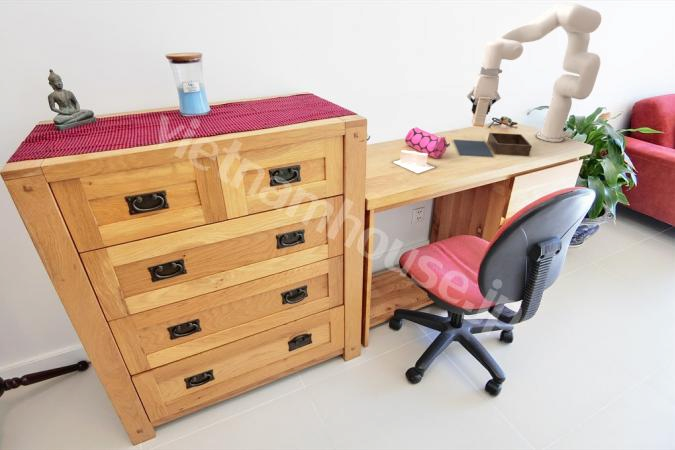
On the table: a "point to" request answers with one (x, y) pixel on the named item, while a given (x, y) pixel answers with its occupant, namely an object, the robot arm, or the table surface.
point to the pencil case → (426, 142)
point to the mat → (472, 148)
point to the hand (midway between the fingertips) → (480, 113)
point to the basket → (509, 144)
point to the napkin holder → (414, 161)
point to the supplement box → (480, 111)
